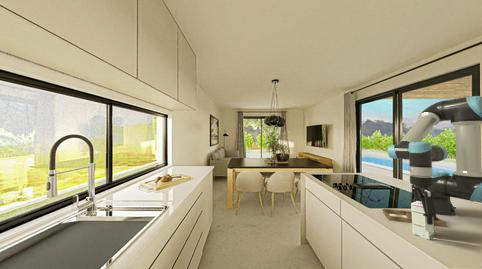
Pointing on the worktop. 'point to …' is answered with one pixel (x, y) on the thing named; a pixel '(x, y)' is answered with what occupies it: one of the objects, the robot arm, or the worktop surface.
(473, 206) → the worktop surface
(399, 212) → the caddy
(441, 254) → the worktop surface
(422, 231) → the syrup box
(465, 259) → the worktop surface
